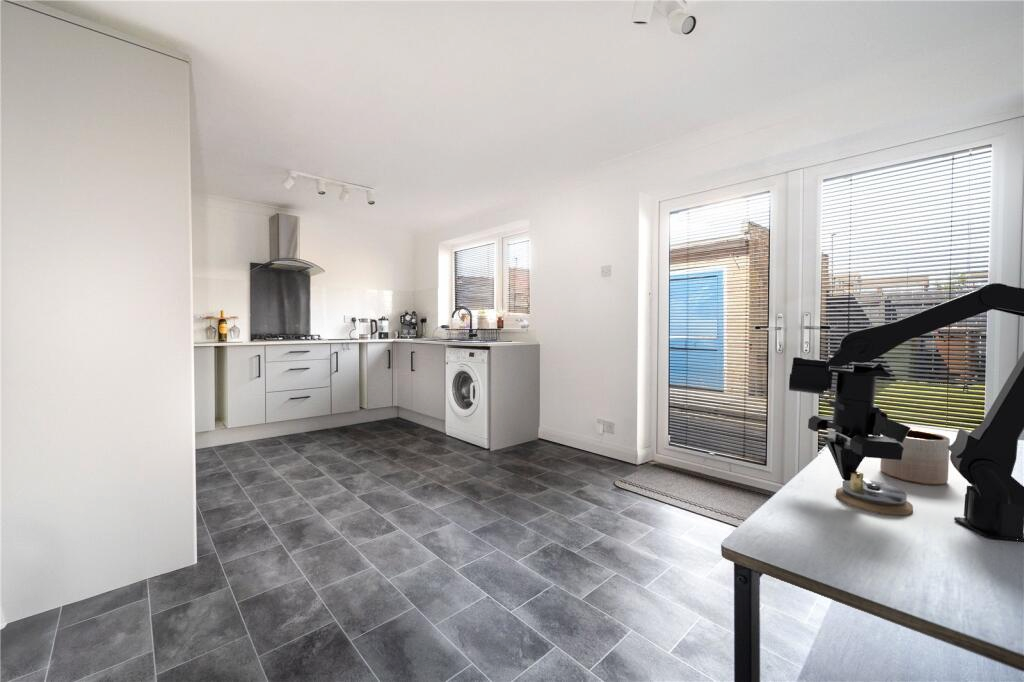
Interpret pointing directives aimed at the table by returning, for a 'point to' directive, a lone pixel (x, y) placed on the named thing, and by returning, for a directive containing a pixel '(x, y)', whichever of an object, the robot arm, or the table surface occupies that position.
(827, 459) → the table surface
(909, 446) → the planter
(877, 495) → the dial
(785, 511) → the table surface
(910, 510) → the stand
